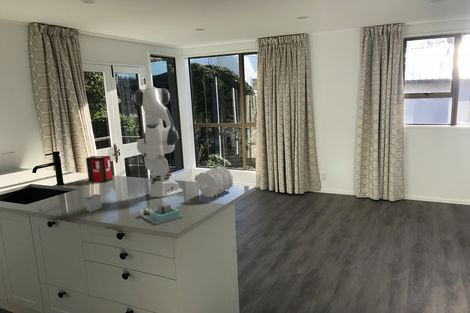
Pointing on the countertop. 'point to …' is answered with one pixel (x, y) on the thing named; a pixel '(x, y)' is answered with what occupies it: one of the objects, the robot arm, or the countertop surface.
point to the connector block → (164, 209)
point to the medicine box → (93, 202)
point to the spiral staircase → (214, 181)
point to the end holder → (166, 216)
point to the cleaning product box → (99, 168)
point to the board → (155, 219)
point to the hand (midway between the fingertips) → (158, 179)
